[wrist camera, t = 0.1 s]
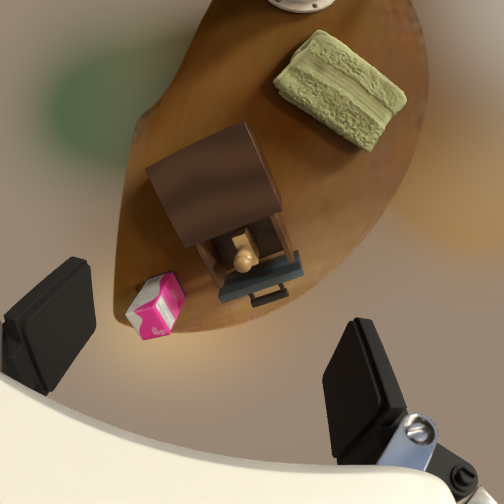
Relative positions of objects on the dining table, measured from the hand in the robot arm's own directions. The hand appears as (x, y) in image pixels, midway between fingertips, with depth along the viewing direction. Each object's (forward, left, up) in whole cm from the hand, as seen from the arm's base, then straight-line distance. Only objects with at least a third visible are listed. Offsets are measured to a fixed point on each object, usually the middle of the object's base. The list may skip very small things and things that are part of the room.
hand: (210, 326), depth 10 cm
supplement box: (+13, -23, -37) cm, 46 cm away
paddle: (+9, -5, -35) cm, 37 cm away
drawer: (+12, -5, -36) cm, 39 cm away
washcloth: (-7, +17, -37) cm, 41 cm away
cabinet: (-1, -5, -37) cm, 38 cm away
